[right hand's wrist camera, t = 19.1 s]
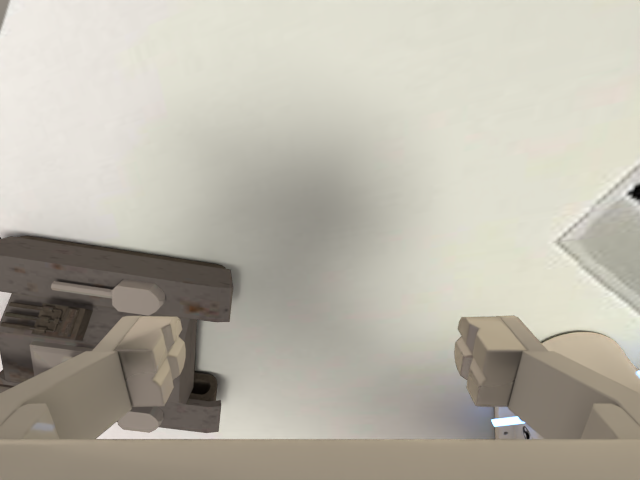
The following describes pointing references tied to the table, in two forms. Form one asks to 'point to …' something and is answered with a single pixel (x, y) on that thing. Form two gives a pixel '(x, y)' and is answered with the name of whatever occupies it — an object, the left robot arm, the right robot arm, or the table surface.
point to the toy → (108, 316)
